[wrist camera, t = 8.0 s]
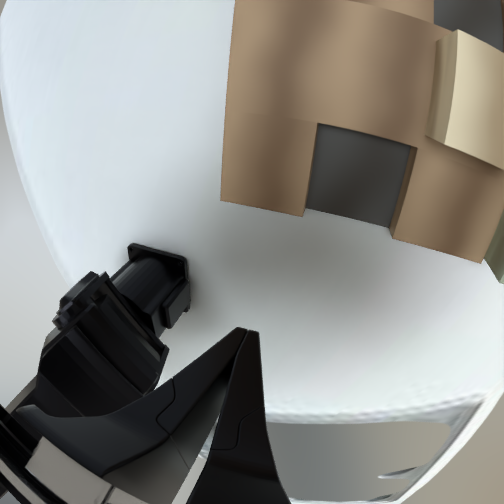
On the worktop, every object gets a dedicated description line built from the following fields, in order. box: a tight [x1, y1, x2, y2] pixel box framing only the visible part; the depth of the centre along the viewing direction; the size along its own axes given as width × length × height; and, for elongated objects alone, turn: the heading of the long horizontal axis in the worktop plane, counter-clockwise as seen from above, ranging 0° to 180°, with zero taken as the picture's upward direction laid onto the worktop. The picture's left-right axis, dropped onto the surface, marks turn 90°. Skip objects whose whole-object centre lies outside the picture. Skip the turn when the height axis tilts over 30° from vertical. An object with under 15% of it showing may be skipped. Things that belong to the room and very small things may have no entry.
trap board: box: [220, 0, 504, 284], centre depth 11 cm, size 20×20×5 cm
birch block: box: [424, 29, 504, 170], centre depth 9 cm, size 6×6×4 cm
